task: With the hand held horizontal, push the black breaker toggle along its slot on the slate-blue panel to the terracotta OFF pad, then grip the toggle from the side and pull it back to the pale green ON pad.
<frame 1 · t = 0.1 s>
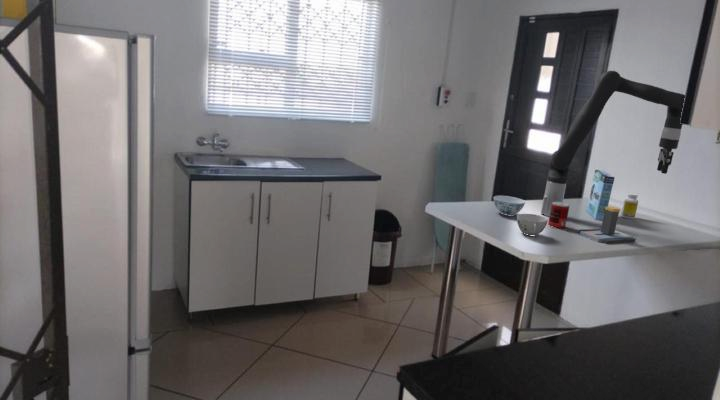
hand: (661, 172, 245), 29 cm above the countertop, tool pointing down, fingers open, 8 cm apart
supplement bottle: (627, 217, 276), on the countertop
cord front: (619, 242, 226), on the countertop
breaker toggle: (609, 220, 231), point 8 cm above the countertop, slide at 5.0 cm
gum box: (595, 216, 273), on the countertop
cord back: (593, 232, 239), on the countertop
breaker panel: (606, 237, 233), on the countertop
canned food: (556, 226, 243), on the countertop
teacup: (529, 235, 223), on the countertop
chinaware: (506, 214, 256), on the countertop
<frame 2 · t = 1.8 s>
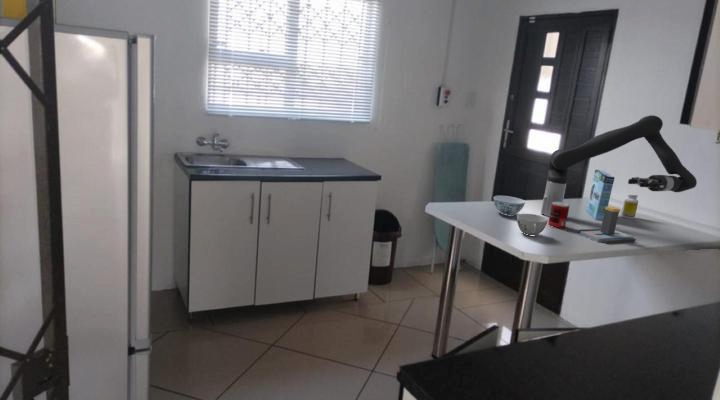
hand: (634, 183, 231), 25 cm above the countertop, tool horizontal, fingers open, 5 cm apart
nothing on the countertop moved.
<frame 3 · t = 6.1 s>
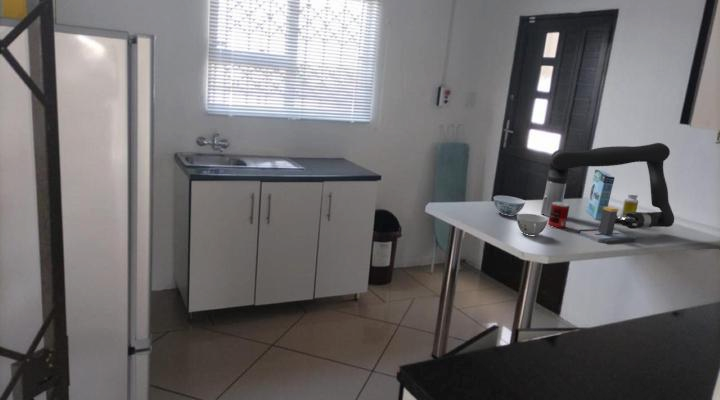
hand: (611, 221, 231), 7 cm above the countertop, tool horizontal, fingers closed
breaker toggle: (608, 220, 230), point 8 cm above the countertop, slide at 6.2 cm, touching gripper
everything else where it was.
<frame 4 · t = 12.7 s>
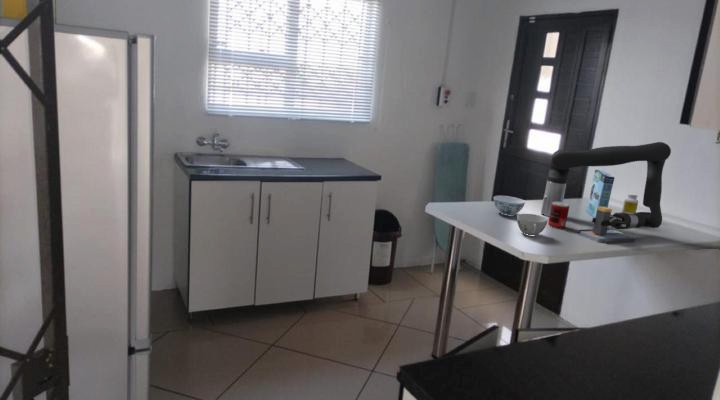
hand: (597, 221, 228), 8 cm above the countertop, tool horizontal, fingers closed on breaker toggle, 4 cm apart
breaker toggle: (601, 220, 229), point 8 cm above the countertop, slide at 10.0 cm, touching gripper
everything else where it was.
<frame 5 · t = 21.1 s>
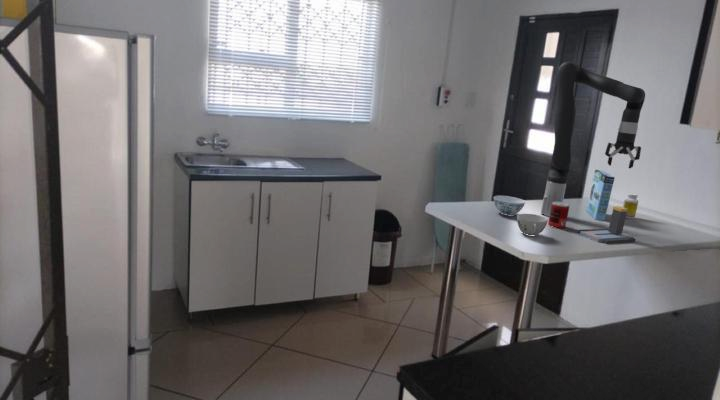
hand: (619, 166, 241), 30 cm above the countertop, tool pointing down, fingers open, 8 cm apart
breaker toggle: (617, 220, 233), point 8 cm above the countertop, slide at 0.0 cm
everything else where it was.
at the end: breaker toggle slide at 0.0 cm; the gripper is holding nothing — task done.
